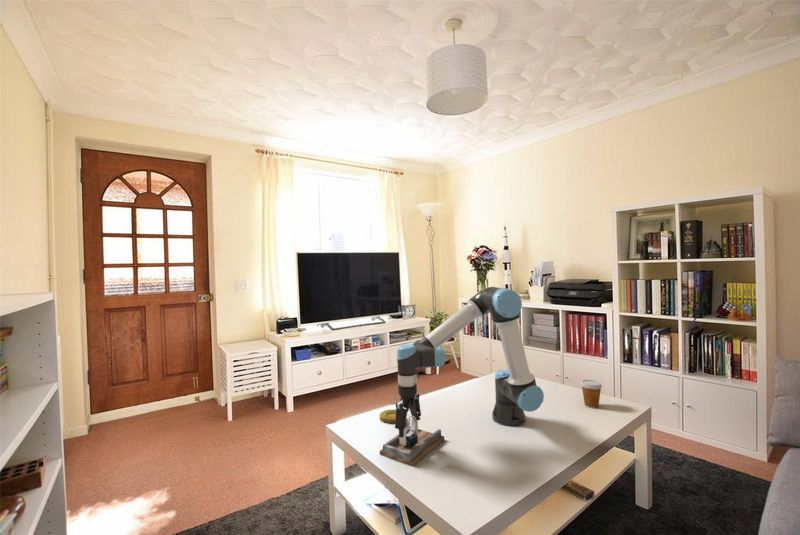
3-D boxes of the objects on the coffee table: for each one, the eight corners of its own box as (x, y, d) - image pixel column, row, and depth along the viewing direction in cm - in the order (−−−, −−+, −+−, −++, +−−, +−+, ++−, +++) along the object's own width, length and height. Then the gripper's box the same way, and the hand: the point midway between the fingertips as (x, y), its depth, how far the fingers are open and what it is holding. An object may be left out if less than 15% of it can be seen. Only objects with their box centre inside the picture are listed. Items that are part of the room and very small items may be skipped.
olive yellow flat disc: (400, 425, 176) (400, 420, 175) (376, 422, 179) (376, 418, 179) (407, 415, 187) (407, 410, 187) (384, 412, 191) (384, 408, 190)
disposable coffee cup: (602, 404, 193) (602, 381, 192) (601, 410, 185) (600, 386, 184) (582, 401, 198) (582, 378, 197) (580, 407, 190) (579, 383, 189)
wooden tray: (444, 439, 160) (444, 430, 160) (413, 466, 140) (413, 455, 140) (412, 430, 169) (412, 422, 169) (379, 454, 149) (379, 444, 149)
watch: (397, 444, 151) (396, 417, 151) (410, 437, 157) (409, 411, 157) (407, 449, 147) (406, 421, 147) (420, 441, 153) (420, 414, 153)
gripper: (413, 375, 162) (415, 427, 163) (384, 390, 145) (386, 448, 146) (428, 378, 158) (430, 432, 158) (400, 393, 141) (401, 453, 141)
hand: (409, 439), depth 152 cm, fingers closed on watch, 8 cm apart
